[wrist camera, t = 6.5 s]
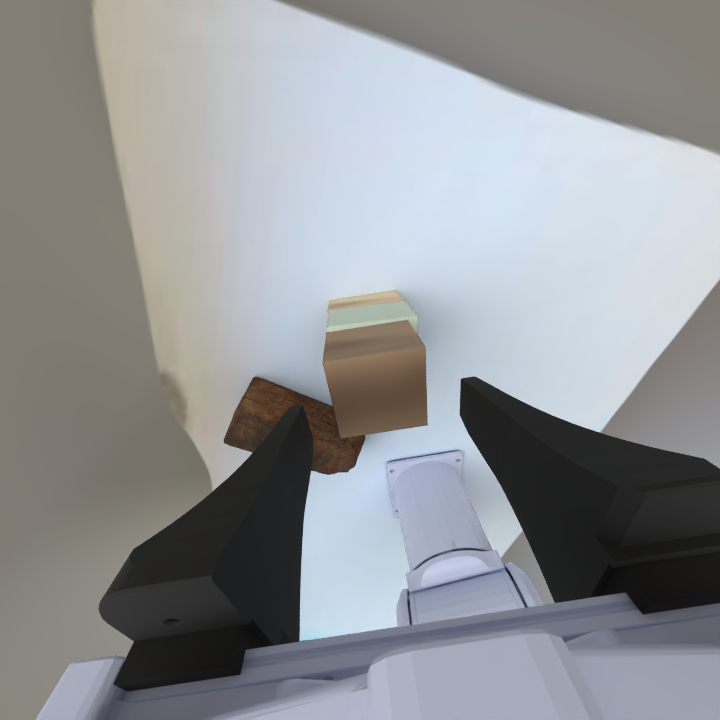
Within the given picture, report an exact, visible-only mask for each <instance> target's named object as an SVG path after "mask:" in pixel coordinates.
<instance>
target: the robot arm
mask: <svg viewBox="0 0 720 720" xmlns="http://www.w3.org/2000/svg"><path fill="white" fill-rule="evenodd" d="M460 416H461V418H462V421H463V423H464V425H465V427H466V429H467V431H468V433H469V435H470V437H471V438H472V440H473V442H474V443H475V445H476V446H477V448H478V450H479V451H480V453H481V454H482V456H483V457H484V459H485V461H486V462H487V464H488V465H489V467H490V468H491V470H492V472H493V473H494V475H495V476H496V478H497V480H498V481H499V483H500V485H501V487H502V488H503V490H504V492H505V494H506V496H507V498H508V500H509V502H510V504H511V506H512V508H513V510H514V512H515V514H516V517H517V519H518V521H519V523H520V525H521V527H522V529H523V531H524V533H525V535H526V538H527V540H528V542H529V544H530V546H531V548H532V551H533V553H534V555H535V557H536V560H537V562H538V564H539V566H540V569H541V571H542V573H543V576H544V578H545V581H546V583H547V585H548V588H549V590H550V592H551V595H552V597H553V600H554V602H555V603H553V604H547V605H543V603H542V601H541V599H540V597H539V595H538V593H537V592H536V590H535V588H534V586H533V585H532V583H531V581H530V580H529V578H528V577H527V575H526V574H525V573H524V572H523V571H522V570H521V569H519V568H518V567H516V566H515V565H514V564H513V563H511V562H509V563H506V564H504V565H503V563H502V561H501V559H500V557H499V554H498V552H497V551H496V550H492V548H491V546H490V543H489V541H488V539H487V537H486V535H485V533H484V530H483V528H482V526H481V524H480V522H479V520H478V517H477V515H476V513H475V511H474V509H473V507H472V504H471V502H470V500H469V498H468V496H467V494H466V491H465V489H464V487H463V485H462V462H463V455H462V453H461V452H460V451H455V452H449V453H443V454H436V455H430V456H424V457H418V458H411V459H405V460H399V461H393V462H389V463H387V472H388V479H389V485H390V492H391V499H392V505H393V512H394V517H395V518H400V523H401V528H402V533H403V538H404V543H405V548H406V553H407V558H408V563H409V568H410V572H409V573H406V578H407V583H408V589H403V590H402V591H401V594H400V598H399V600H398V603H397V626H398V627H394V628H387V629H381V630H374V631H367V632H361V633H354V634H348V635H341V636H334V637H328V638H321V639H315V640H308V641H301V642H299V631H300V580H301V555H302V537H303V521H304V512H305V504H306V498H307V492H308V486H309V480H310V474H311V467H312V460H313V435H312V432H311V429H310V426H309V423H308V420H307V417H306V413H305V410H304V407H303V405H298V406H292V407H289V408H288V409H287V411H286V412H285V413H284V415H283V416H282V417H281V419H280V420H279V421H278V423H277V424H276V425H275V426H274V428H273V429H272V430H271V432H270V433H269V434H268V435H267V437H266V438H265V439H264V440H263V442H262V443H261V444H260V445H259V446H258V447H257V449H256V450H255V451H254V452H253V453H252V454H251V455H250V457H249V458H248V459H247V460H246V461H245V462H244V463H243V464H242V465H241V466H240V467H239V468H238V469H237V470H236V471H235V472H234V473H233V474H232V475H231V476H230V477H229V478H228V479H227V480H225V481H224V482H223V483H222V484H221V485H220V486H219V487H217V488H216V489H215V490H214V491H213V492H212V493H210V494H209V495H208V496H207V497H206V498H205V499H203V501H201V502H200V503H198V504H197V505H196V506H195V507H193V508H192V509H191V510H189V511H188V512H187V513H185V514H184V515H183V516H181V517H180V518H179V519H177V520H176V521H175V522H173V523H172V524H170V525H169V526H168V527H166V528H165V529H163V530H162V531H160V532H159V533H157V534H156V535H154V536H153V537H151V538H150V539H148V540H147V541H145V542H144V543H142V544H141V545H139V546H138V547H136V548H135V549H133V551H132V552H131V554H130V555H129V557H128V559H127V560H126V562H125V563H124V565H123V567H122V568H121V570H120V571H119V573H118V574H117V576H116V578H115V579H114V581H113V582H112V584H111V585H110V587H109V589H108V590H107V592H106V593H105V595H104V597H103V598H102V600H101V601H100V604H99V612H100V614H101V617H102V618H103V619H104V620H105V621H106V622H107V623H108V624H109V625H111V626H112V627H114V628H115V629H117V630H118V631H120V632H121V633H123V634H124V635H126V636H127V637H128V638H130V639H131V640H133V641H134V643H133V645H132V647H131V649H130V651H129V653H128V655H127V657H122V656H107V657H101V658H95V659H88V660H81V661H75V662H73V663H71V664H70V665H69V666H68V668H67V670H66V671H65V673H64V674H63V676H62V678H61V679H60V681H59V683H58V684H57V686H56V687H55V689H54V691H53V693H52V694H51V696H50V697H49V699H48V700H47V702H46V704H45V706H44V707H43V709H42V710H41V712H40V713H39V715H38V717H37V718H36V720H720V469H719V468H718V467H716V466H715V465H713V464H712V463H710V462H709V461H707V460H705V459H703V458H698V457H694V456H689V455H684V454H680V453H675V452H670V451H666V450H661V449H657V448H653V447H648V446H644V445H641V444H637V443H633V442H629V441H626V440H622V439H618V438H615V437H611V436H608V435H605V434H602V433H599V432H596V431H593V430H590V429H587V428H584V427H581V426H578V425H575V424H572V423H570V422H567V421H565V420H562V419H560V418H557V417H555V416H552V415H550V414H547V413H545V412H543V411H541V410H538V409H536V408H534V407H532V406H530V405H528V404H526V403H524V402H522V401H520V400H518V399H516V398H514V397H512V396H510V395H508V394H506V393H504V392H503V391H501V390H499V389H497V388H495V387H493V386H492V385H490V384H488V383H486V382H484V381H482V380H481V379H479V378H477V377H468V378H462V379H461V391H460Z"/></svg>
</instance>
